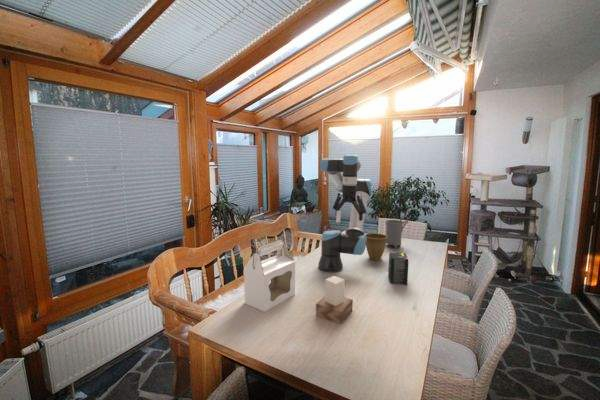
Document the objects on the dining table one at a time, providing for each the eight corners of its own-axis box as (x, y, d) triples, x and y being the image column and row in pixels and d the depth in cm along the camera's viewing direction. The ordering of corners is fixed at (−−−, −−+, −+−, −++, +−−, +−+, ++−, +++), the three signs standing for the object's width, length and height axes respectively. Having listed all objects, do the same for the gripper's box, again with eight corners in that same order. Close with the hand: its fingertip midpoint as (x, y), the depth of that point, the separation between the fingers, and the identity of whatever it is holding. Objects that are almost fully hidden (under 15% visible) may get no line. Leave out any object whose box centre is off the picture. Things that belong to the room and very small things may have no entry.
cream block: (324, 301, 126) (325, 279, 125) (333, 296, 130) (334, 275, 129) (335, 306, 122) (335, 283, 120) (344, 301, 126) (344, 279, 125)
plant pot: (390, 259, 195) (392, 236, 193) (376, 264, 187) (377, 240, 184) (373, 253, 207) (374, 231, 205) (359, 257, 199) (360, 234, 196)
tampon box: (407, 285, 156) (409, 259, 153) (389, 283, 157) (391, 258, 155) (404, 277, 166) (406, 252, 164) (387, 275, 168) (389, 251, 166)
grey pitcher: (379, 246, 224) (381, 214, 220) (384, 241, 236) (386, 211, 233) (404, 250, 214) (406, 217, 210) (408, 245, 227) (410, 214, 223)
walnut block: (315, 316, 125) (316, 303, 124) (328, 304, 135) (328, 292, 134) (341, 325, 119) (341, 311, 118) (352, 312, 129) (352, 299, 128)
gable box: (264, 312, 127) (263, 251, 123) (244, 303, 135) (242, 245, 131) (295, 294, 145) (295, 240, 141) (276, 287, 153) (275, 235, 149)
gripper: (326, 183, 157) (326, 221, 160) (365, 187, 140) (364, 229, 143) (335, 182, 162) (334, 219, 166) (374, 186, 145) (372, 227, 148)
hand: (348, 224), depth 154 cm, fingers open, 13 cm apart
